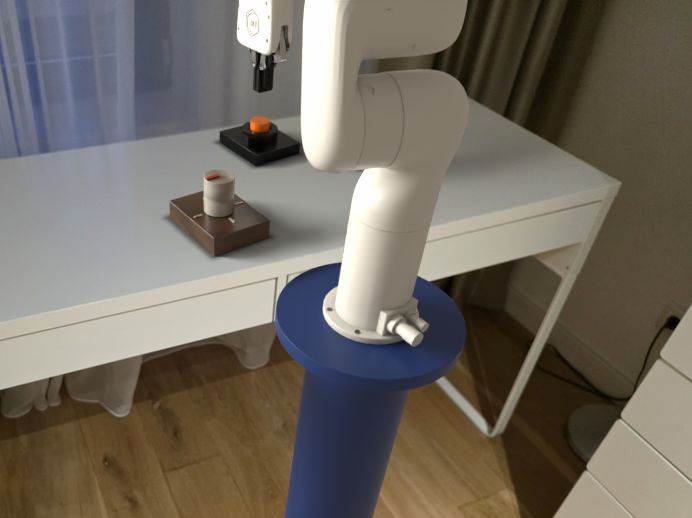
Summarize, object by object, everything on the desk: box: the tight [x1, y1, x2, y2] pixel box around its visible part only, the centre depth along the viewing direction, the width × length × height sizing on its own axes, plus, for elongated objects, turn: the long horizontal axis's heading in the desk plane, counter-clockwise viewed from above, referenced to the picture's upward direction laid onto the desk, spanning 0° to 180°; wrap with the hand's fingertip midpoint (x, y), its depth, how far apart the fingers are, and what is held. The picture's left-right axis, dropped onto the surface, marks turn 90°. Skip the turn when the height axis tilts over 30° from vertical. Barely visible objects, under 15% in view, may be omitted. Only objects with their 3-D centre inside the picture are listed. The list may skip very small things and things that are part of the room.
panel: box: [168, 190, 271, 257], centre depth 101 cm, size 13×10×3 cm
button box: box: [218, 120, 301, 167], centre depth 122 cm, size 12×10×4 cm
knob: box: [203, 169, 236, 217], centre depth 98 cm, size 5×5×6 cm
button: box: [249, 116, 271, 132], centre depth 121 cm, size 4×4×2 cm
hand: (262, 90), depth 116 cm, fingers closed
